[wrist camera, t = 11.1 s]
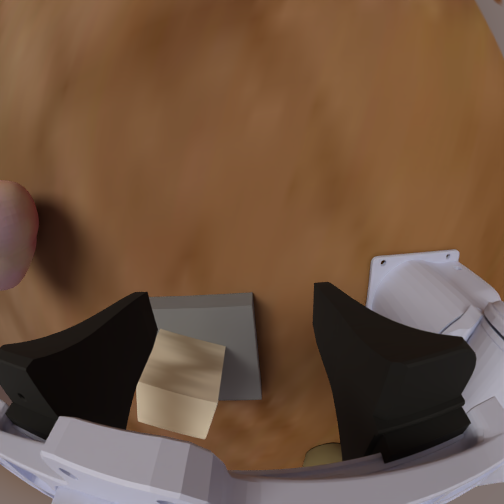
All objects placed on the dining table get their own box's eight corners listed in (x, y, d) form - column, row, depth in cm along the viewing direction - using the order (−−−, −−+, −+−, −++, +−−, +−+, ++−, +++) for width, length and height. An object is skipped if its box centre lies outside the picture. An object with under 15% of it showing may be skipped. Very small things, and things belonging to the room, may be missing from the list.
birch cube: (225, 346, 21) (217, 403, 16) (213, 387, 23) (205, 439, 18) (160, 328, 21) (136, 380, 15) (156, 372, 23) (137, 420, 17)
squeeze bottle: (352, 432, 30) (377, 542, 13) (350, 454, 32) (369, 546, 16) (294, 445, 31) (304, 558, 14) (301, 465, 33) (309, 559, 16)
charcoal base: (252, 289, 22) (252, 305, 20) (261, 381, 26) (261, 399, 24) (129, 294, 23) (118, 309, 20) (160, 380, 27) (154, 397, 24)
